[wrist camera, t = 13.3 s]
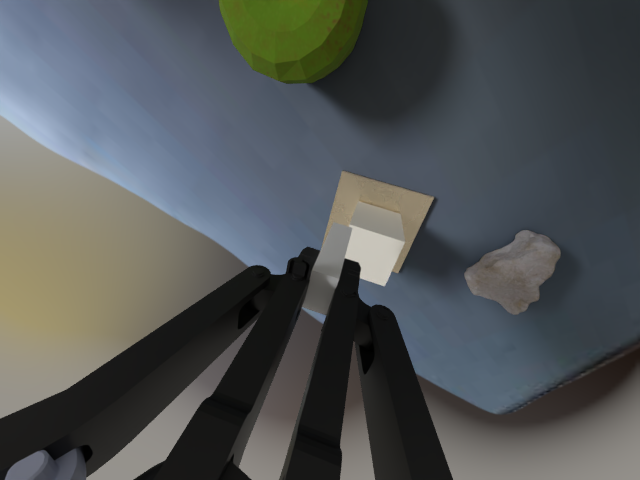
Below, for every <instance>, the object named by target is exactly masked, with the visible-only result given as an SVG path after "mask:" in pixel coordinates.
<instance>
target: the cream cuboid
mask: <svg viewBox="0 0 640 480" xmlns="http://www.w3.org/2000/svg"><path fill="white" fill-rule="evenodd" d="M349 227H351V228H352V232H351V236H350V240H349V243H348V247H347V251H346V255H345V258H346V259H349V260H352V261H355V262H359V264H360V267H361V272H360V278H362V279H364V280H367V281H370V282H373V283H376V284H379V285H382V286H385V285H386V282H387V280H388V278H389V276H390V274H391V272H392V269H393V267H394V265H395V263H396V261H397V259H398V256H399V254H400V252H401V250H402V248H403V246H404V244H405V238H404V232H403V226H402V219H401V214H399V213H396V212H393V211H389V210H386V209H383V208H380V207H376V206H373V205H370V204H367V203H363V202H360V201H358V202H357V205H356V208H355V211H354V213H353V216H352V219H351V222H350V224H349Z"/></svg>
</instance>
